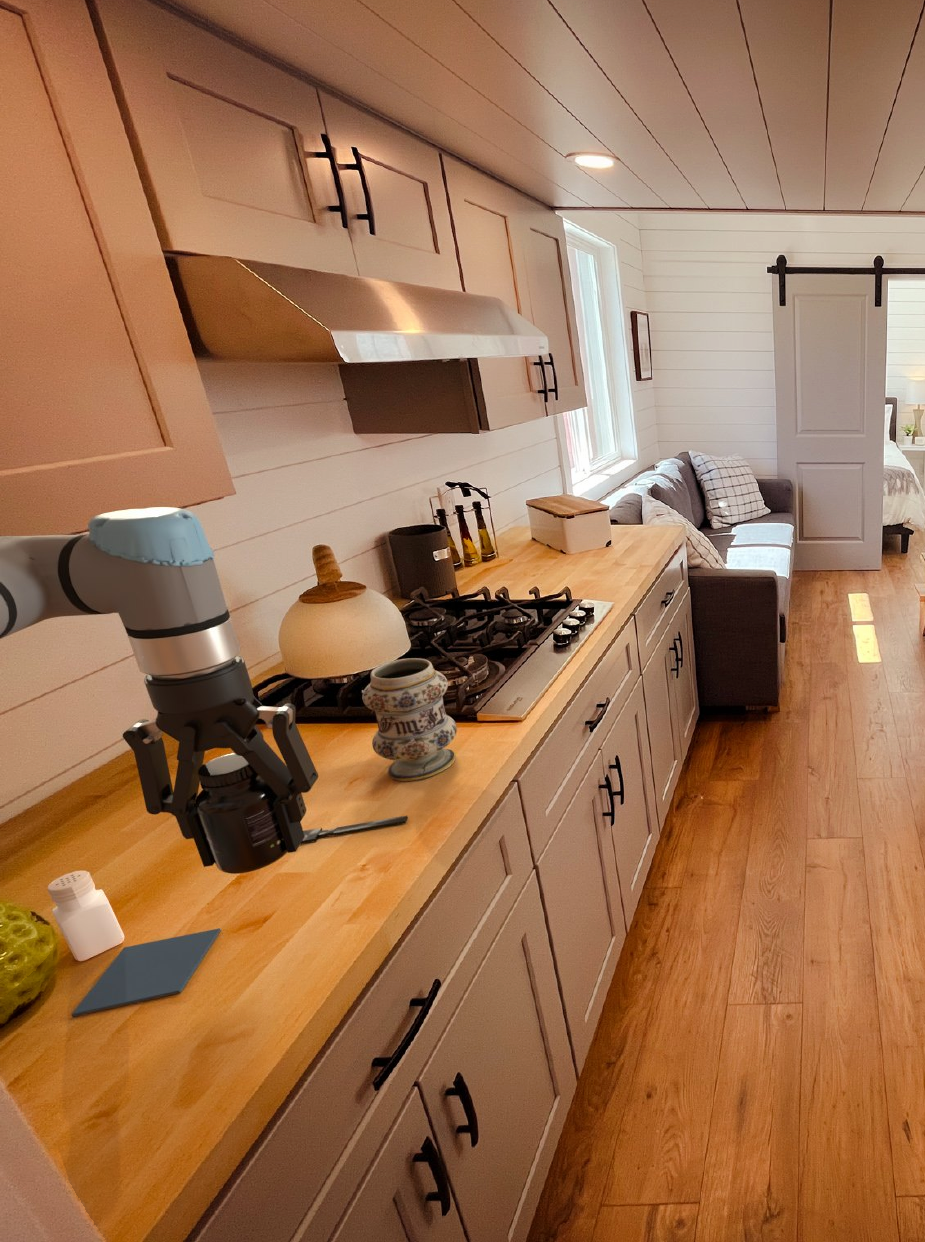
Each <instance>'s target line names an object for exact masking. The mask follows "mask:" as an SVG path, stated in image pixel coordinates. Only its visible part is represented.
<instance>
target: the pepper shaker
mask: <svg viewBox="0 0 925 1242" xmlns="http://www.w3.org/2000/svg"><path fill="white" fill-rule="evenodd" d="M93 880H94V879H93V878H92V876H91V873H90V872H89V871H86V870H76V871H72V872H68V873H65V874H63V875H61V876H59V877H57V878H55V879H54V880H53V881H51V882H50V883H48V884H47V885H48V886H47V887H46V890H47V892H48V894H49V896H50V898H51V901H52V902H53V904H55V905H56V906H55V907H54V908H53V909H51V913H52V915H53V917H54V919H55V921H56V923H57V926H58V927H59V930H60V932H61V933H62V935H63V938H64V940H65V942H66V943H67V945H68V947H69V950H70V952H71V954H72V956H73V957H74V959H75V960H76V961H78V962H84V961H87V960H89V959H91V958H93V957H96V956H97V955H100V954H102V953H103V952H106V951H108V950H111V949H112V948H115V947H116V946H119V945H120V944H122V943H123V942H124V941H125V937H126V936H125V934H124V932H123V929H122V927H121V925H120V923H119V921H118V919H117V917H116V914H115V912H114V910H113V908H112V905H111V904H110V901H109V899H108V897H107V896H106V894H105V892H104V890H103V889H101V888H100V889H96V885H95V883H94V881H93Z"/></svg>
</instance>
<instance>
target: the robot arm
mask: <svg viewBox="0 0 925 1242" xmlns="http://www.w3.org/2000/svg"><path fill="white" fill-rule="evenodd" d="M87 527H88V533H87V534H54V535H53V534H52V535H51V534H50V535H0V640H1V639H4V638H6V637H8V636H11V635H13V634H15V633H18V632H20V631H21V630H24V629H27V628H29V627H32V626H34V625H36V624H39V623H41V622H44V621H45V620H49V619H53V618H60V617H61V618H62V617H75V616H77V617H78V616H79V617H80V616H97V615H110V614H118V616H119V618H120V620H121V623H122V626H123V628H124V630H125V632H126V634H127V638H128V640H129V644H130V646H131V649H132V652H133V656H134V658H135V661H136V664H137V667H138V670H139V672H140V673H142V674H144V675H145V677H144V679H143V683H144V686H145V688H146V691H147V693H148V697H149V699H150V702H151V705H152V707H153V709H154V710H156V711H157V715H156V718H154V719H150V720H149V719H145V718H143V719H139V720H137V721H136V722H135V723H134V724H133V725H131V726H130V727H129V728H128V729H126V730H125V731H124V732H123V733H122V738H123V740H125V742H126V743H127V745H128V746H129V747H130V749H131V750H132V752H133V754H134V757H135V758H134V759H135V762H136V767H137V772H138V777H139V782H140V786H141V790H142V795H143V800H144V804H145V809H146V812H147V813H148V814H150V815H159V814H161V813H166V814H171V816H174V817H175V819H176V822H177V824H178V827H179V830H180V833H181V835H182V837H183V838H184V839H186V840H191V839H192V840H193V841H194V845H195V846H196V849H197V852H198V855H199V857H200V860H201V863H202V865H203V867H204V868H206V867H212V866H214V864H215V861H214V859H213V856H212V853H211V850H210V848H209V845H208V842H207V839H206V836H205V834H204V831H203V828H202V825H201V823H200V820H199V817H198V814H197V811H196V808H195V801H196V798H197V796H198V795H199V789H200V779H199V776H198V769H200V767H201V766H202V765H203V764H204V759H205V755H206V754H205V753H206V752H207V751H210V750H213V749H224V750H225V749H231V751H232V752H233V753H235V754H236V755H238V756H242V757H243V758H244V759H245V760H246V761H247V762H248V763H249V764H250V765H251V767H252V768H253V769H254V770H255V771H256V772H257V773H258V774H259V775H260V777H261V778H262V779H263V780H264V781H265V782H266V783H267V784H268V786H269V787H270V788H271V789H272V790H273V791H274V792H275V793H276V794H277V796H278V797H277V799H276V800H275V801H274V803H273V807H274V811H275V814H276V817H277V820H278V823H279V827H280V830H281V833H282V836H283V839H284V843H285V846H286V849H287V854H290V853H295V852H297V851H298V849H299V847H300V846H301V845H302V844H301V842H302V840H303V839H304V837H305V836H304V832H303V831H304V830H303V826H302V820H303V819H304V818H305V815H306V813H307V807H306V803H305V800H304V797H303V794H304V793H308V792H310V791H311V790H312V788H313V786H314V785H315V784H316V782H317V780H318V779H319V774H318V771H317V769H316V767H315V764H314V761H313V760H312V757H311V755H310V753H309V751H308V749H307V746H306V744H305V741H304V739H303V737H302V735H301V733H300V731H299V728H298V726H297V724H296V706H295V704H292V703H290V702H288V703H284V704H283V705H282V706H281V707H279V706H266V705H263V704H262V702H260V701H259V700H258V699H257V698H256V697H255V695H254V691H253V685H252V681H251V678H250V675H249V672H248V668H247V665H246V661H245V659H244V658H243V657H242V656H240V655H239V654H240V653H241V646H240V643H239V640H238V636H237V633H236V630H235V627H234V624H233V620H232V617H231V615H230V611H229V607H228V606H227V603H226V600H225V595H224V593H223V588H222V584H221V582H220V578H219V575H218V570H217V567H216V564H215V563H216V562H215V561H214V559H215V553H214V551H213V548H211V546H210V543H209V541H208V538H207V536H206V534H205V531H204V528H203V526H202V523H201V521H200V518H199V517H198V516H197V515H196V514H195V513H194V512H192V511H190V510H187V509H184V508H180V507H170V506H169V507H168V506H166V507H165V506H160V507H159V506H158V507H156V506H155V507H154V506H153V507H146V508H129V509H128V508H127V509H120V510H116V511H115V510H114V511H110V512H105V513H102V514H98V515H95V516H93V517H92V518H91V519H90V520H89V521H88V524H87ZM259 719H260V720H262V721H264V722H265V725H266V729H269V730H272V736H273V739H274V742H275V743H276V745H277V748H278V751H279V752H280V755H281V757H282V758H283V759H281V757H280V756H279V755H278V754H277V752H275V751H274V750H273V748H272V747H271V746H270V745H269V743H267V741H266V740H265V739H264V734H263V732H262V731H261V730H260V729H259V728H258V726H257V725H256V724H257V723H258V721H259ZM164 733H165V734H166V735H168V736H170V738H172V739H174V740H176V741H177V742H178V747H177V752H176V760H177V767H176V773H175V781H174V787H173V783H172V779H171V773H170V769H169V768H170V767H169V763H168V758H167V752H166V748H165V743H164V740H163V735H164Z"/></svg>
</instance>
